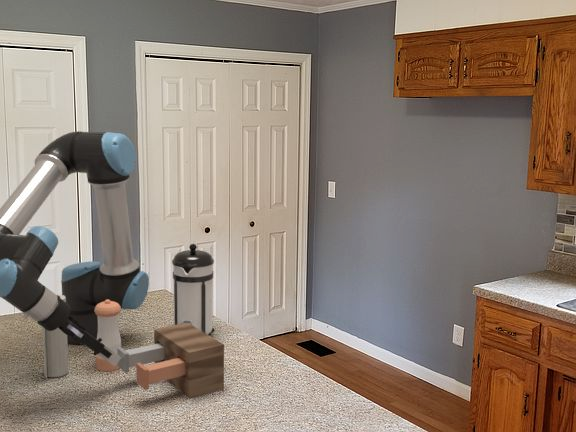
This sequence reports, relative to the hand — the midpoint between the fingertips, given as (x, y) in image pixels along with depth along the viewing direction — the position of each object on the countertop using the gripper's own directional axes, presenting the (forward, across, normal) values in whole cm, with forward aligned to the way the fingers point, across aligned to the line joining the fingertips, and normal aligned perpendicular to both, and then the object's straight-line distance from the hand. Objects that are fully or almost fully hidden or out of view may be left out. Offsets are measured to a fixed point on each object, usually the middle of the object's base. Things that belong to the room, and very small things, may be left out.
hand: (117, 361), depth 161 cm
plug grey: (+8, 0, +4) cm, 9 cm away
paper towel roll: (-2, -17, -13) cm, 22 cm away
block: (+17, +6, +7) cm, 20 cm away
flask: (+23, -10, +12) cm, 28 cm away
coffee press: (+29, -24, +19) cm, 42 cm away
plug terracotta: (+8, +12, +4) cm, 15 cm away
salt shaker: (+8, -14, -3) cm, 16 cm away
